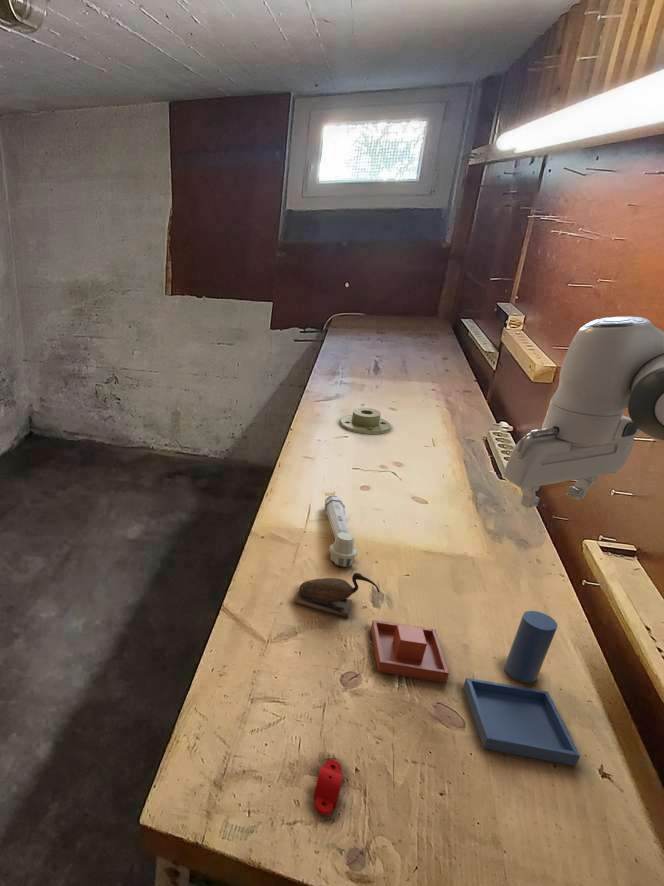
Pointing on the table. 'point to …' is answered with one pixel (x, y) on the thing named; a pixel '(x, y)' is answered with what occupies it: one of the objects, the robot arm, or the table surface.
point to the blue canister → (530, 646)
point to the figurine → (329, 594)
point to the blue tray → (519, 721)
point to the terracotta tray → (388, 663)
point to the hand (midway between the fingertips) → (551, 501)
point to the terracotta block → (409, 643)
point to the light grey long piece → (340, 533)
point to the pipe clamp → (328, 787)
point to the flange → (365, 422)
